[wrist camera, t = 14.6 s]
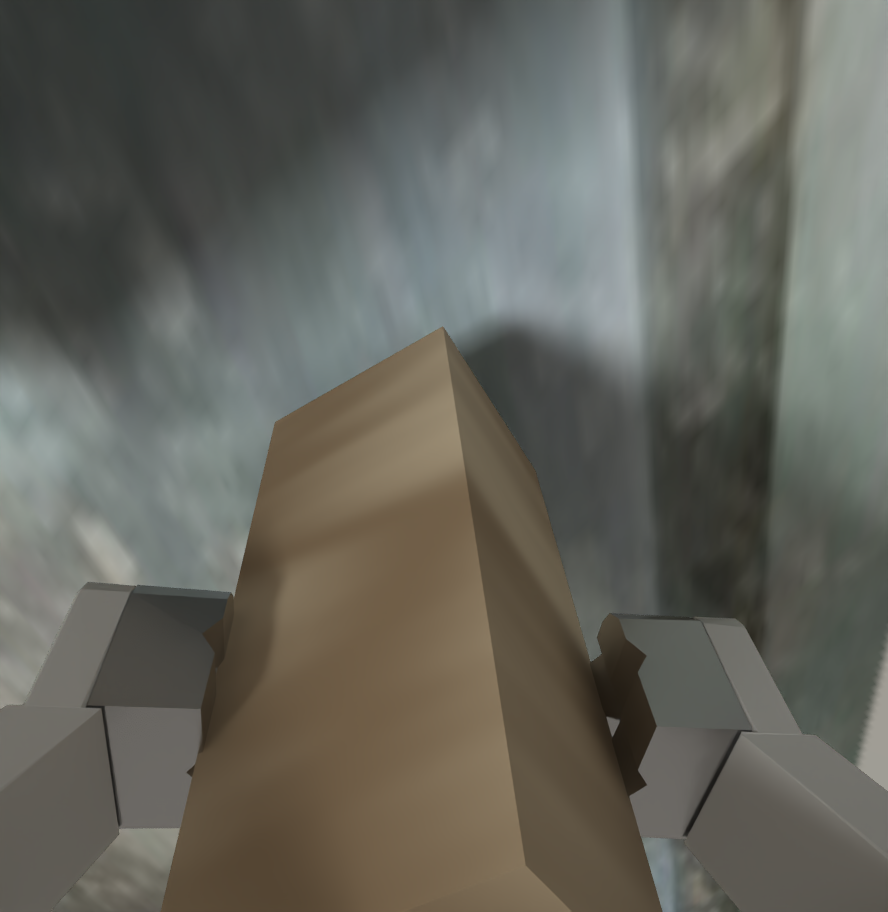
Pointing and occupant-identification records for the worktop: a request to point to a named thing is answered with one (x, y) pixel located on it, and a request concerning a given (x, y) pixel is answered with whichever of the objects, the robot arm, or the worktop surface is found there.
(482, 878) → the brown wooden block
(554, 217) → the worktop surface
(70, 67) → the worktop surface
